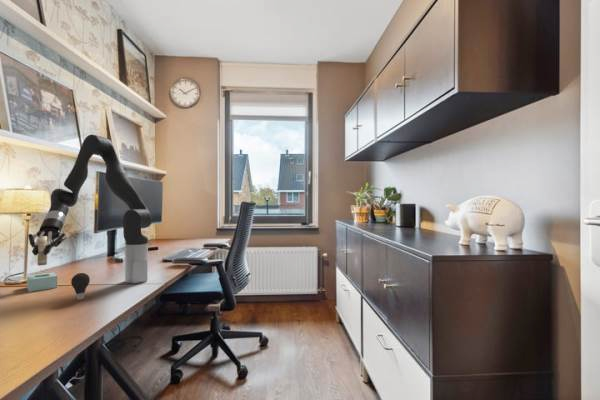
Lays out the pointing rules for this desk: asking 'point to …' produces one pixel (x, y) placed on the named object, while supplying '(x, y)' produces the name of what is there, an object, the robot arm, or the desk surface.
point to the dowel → (42, 250)
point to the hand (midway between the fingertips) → (40, 253)
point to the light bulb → (80, 284)
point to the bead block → (41, 281)
